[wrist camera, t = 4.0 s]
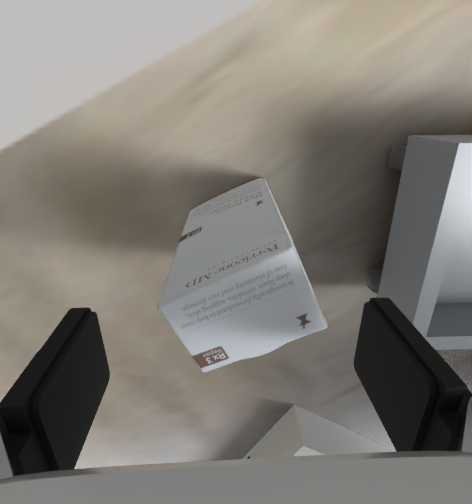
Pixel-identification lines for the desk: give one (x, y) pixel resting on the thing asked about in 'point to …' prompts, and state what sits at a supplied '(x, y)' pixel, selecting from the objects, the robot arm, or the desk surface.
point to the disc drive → (310, 438)
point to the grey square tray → (431, 240)
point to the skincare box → (238, 281)
